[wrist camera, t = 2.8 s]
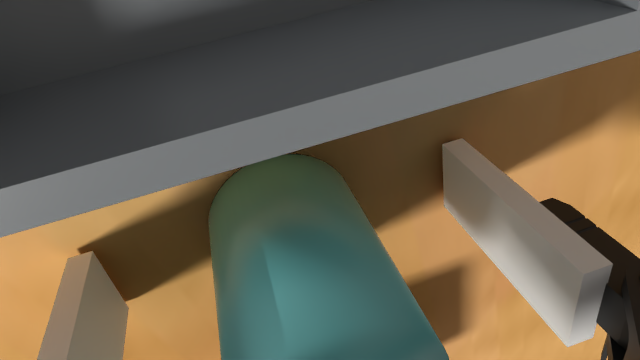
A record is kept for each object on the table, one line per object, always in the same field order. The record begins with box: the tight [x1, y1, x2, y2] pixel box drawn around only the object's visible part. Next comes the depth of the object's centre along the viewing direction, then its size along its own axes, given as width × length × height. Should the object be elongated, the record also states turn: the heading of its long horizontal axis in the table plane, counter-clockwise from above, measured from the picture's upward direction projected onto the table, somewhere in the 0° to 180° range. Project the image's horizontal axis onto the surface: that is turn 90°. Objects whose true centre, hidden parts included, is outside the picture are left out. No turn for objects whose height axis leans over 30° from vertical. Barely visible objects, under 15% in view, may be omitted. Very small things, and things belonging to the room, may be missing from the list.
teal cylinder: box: [208, 154, 449, 360], centre depth 13 cm, size 5×5×7 cm
